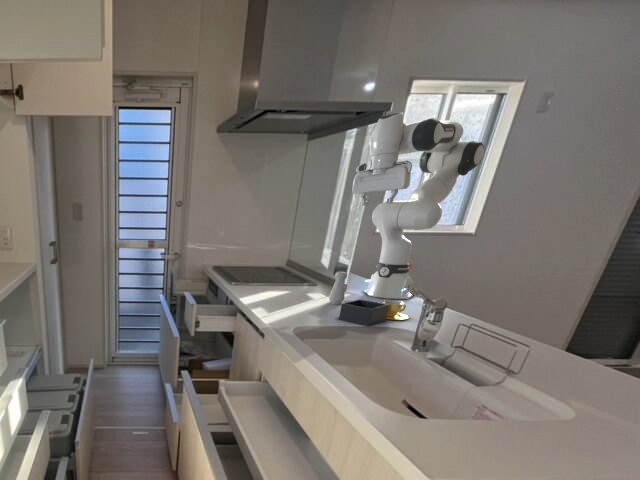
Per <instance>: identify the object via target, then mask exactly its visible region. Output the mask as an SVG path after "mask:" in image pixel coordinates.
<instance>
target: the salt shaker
mask: <svg viewBox="0 0 640 480" xmlns="http://www.w3.org/2000/svg"><path fill="white" fill-rule="evenodd" d="M334 277H335V278H336V279H335V281H334V284H333V286H332V289H331V291H330V293H329V296H328V300H329V303H330V304H331V305H337V306H338V305H339V306H340V305H342V303H344V300H345V285H346V284H345V282H346V279H347V277H348V273H347V272H345V271H336V272H335V274H334Z"/></svg>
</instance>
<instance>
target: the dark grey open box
mask: <svg viewBox="0 0 640 480" xmlns="http://www.w3.org/2000/svg"><path fill="white" fill-rule="evenodd" d="M382 303H383V302H376V301H371V300H366V299H359V298H358V299H355V300H350V301H346V302H342V303H341V304H340V305H341V306H340V311H339V316H338V320H341V321H344V322H345V321H346V322H350V323H354V324H357V325H362V326H367V327H368V326H369V327H370V326H372V325H375V324H378V323H382V322H385V321H386V320H387V319H386V315H387V312H388V308H389V305H388V304H382Z"/></svg>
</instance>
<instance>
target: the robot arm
mask: <svg viewBox="0 0 640 480" xmlns="http://www.w3.org/2000/svg"><path fill="white" fill-rule="evenodd" d="M463 136H464V128H463V125H462V124H461V123H459V122H458V121H455V120H448V119H446V120H443V119H442V120H440V119H438V118H436V117H431V118H428V119H424V120H421V121H417V122H412V123H411V122H410V123H405V122H404V112H401V111H398V112H394V113H390V114H385V115H382V116H381V117H380V118H379V119H378V120H377V123H376V126H375V130H374V133H373V140H372V141H373V142H372V146H373V147H372V152H371V155H370V159H369V160H367V161H365V162H363V163H361V164H359V165H358V166H356V168H355V171H356V174H355V176H354V177H353V182H352V189H351V190H352V193H353V195H354V194H359V195H360V198H361V201H362V206H369V204H370V200H368V198H367V196H368V194H369V193H378V192H387V191H388V192H389V191H390V196H389V198H386V201H385V202H381V203H379V204H378V205H377V206H376V207H375V208H374V209H373V211H372V214H371V221H372V224H373V225H374V226H375V228H377V229H378V232H379V234H380V237H381V250H380V255H379V259H378V261H377V264H376V265H375V272H374V273H372V275H371V277H370V279H366V280H365V283H368V286H367V288H366V289H364V290H363V293H365V294H367V295H368V296H371V297H375V298H380V299H381V298H382V299H389V300H392V299H393V300H396V299H397V300H398V299H399V300H409V299H411V298H412V297H413V295H412V294H411V293H410V290H411V291H412V289H413V288H412V287H413V283H414V281H413V279H412V277H411V275H410V274H409V272H410V269H412V267H413V263H410V262H409V261H410V258H411V254H412V252H413V243H412V242H411V240H409V239H407V237H405V234H404V230H409V231H410V230H411V231H420V230H421V231H422V230H429V229H432V228H433V227H435V226H436V225H437V224H438V223H439V222H440V220H441V218H442V215H443V209H442V206H441V203H442V202H443V201H444V200H445V199H446V198H447V197H448V196H449V195H450V194H451V193H452V191H453V190H454V188H455V187H456V185H457V181H458V178H459V176H462V177H464V176H466V175H468V174H469V172H471V171H472V170H474V169H475V168H476V167H477V166H478V165H479V164H481V162H482V161H483V158H484V154H485V146H484V144H483V142H481V141H479V140H470V141H461V140H462V138H463ZM417 152H422V153H421V156H420V158H419V164H418V165H419V169H420V171H421V172H423V173H427V174H432V173H434V174H433V175H432V176H430V177H429V178H427V179H426V180H424V182H422V183H421V184H420V185H419V186H418V187H416V188H415V189H414V190H413V191H412V192H411V193H410V196H409V199H408V200H394V199H395V198H396V197H397V195H398V193H399V190H406V189H408V188H409V187H410V186H411V177H412V176H411V173H412V169H413V164H412V162H411V161H409V160H403V161H399V156H400V155H406V154H412V153H417Z"/></svg>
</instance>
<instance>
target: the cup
mask: <svg viewBox="0 0 640 480" xmlns="http://www.w3.org/2000/svg"><path fill="white" fill-rule="evenodd" d="M381 303H382V304H388V305H389V308H388V312H387V315H386V319H385V320H392V321H393V320H395V321H404V320H408V319H409V318H410V316H409V315H407V314H404V313H402V312H404V311H405V310H406V309H407V304H405V303H404V302H403V301H399V300H395V299H393V300H392V299H384V300H382V302H381Z"/></svg>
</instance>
